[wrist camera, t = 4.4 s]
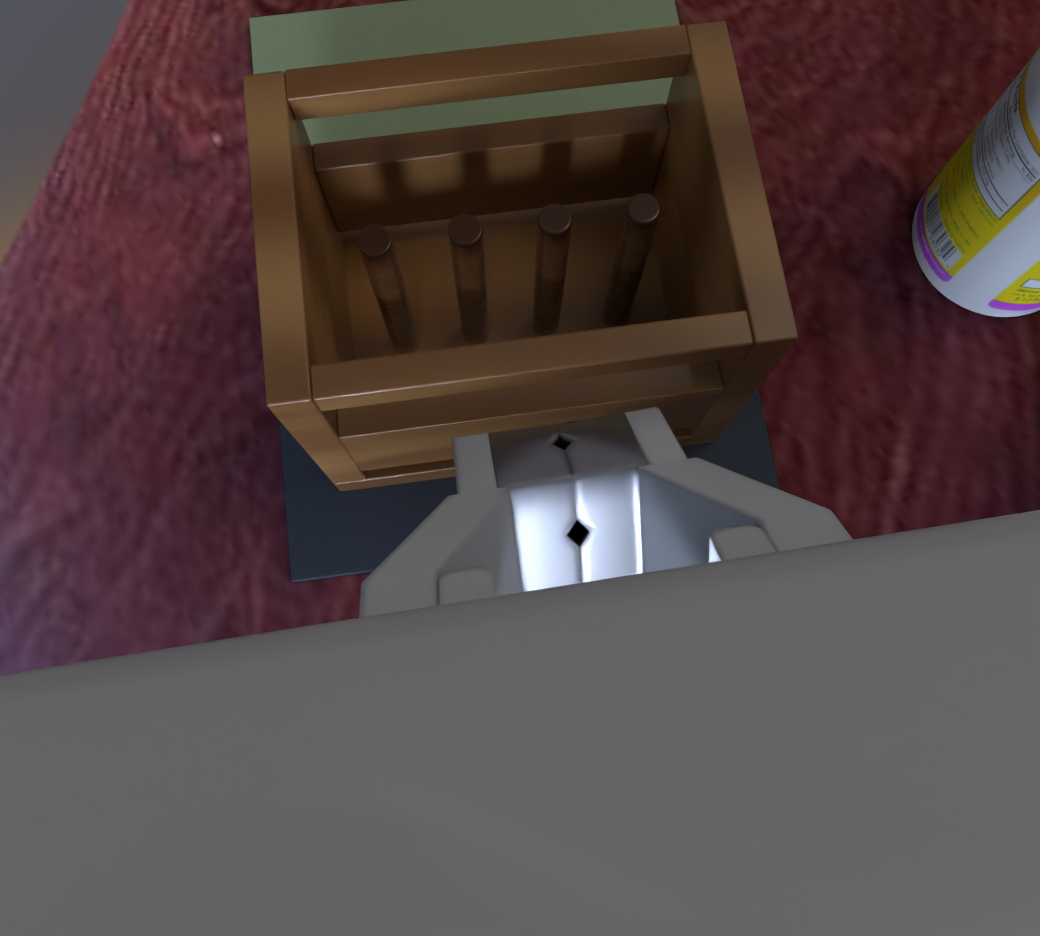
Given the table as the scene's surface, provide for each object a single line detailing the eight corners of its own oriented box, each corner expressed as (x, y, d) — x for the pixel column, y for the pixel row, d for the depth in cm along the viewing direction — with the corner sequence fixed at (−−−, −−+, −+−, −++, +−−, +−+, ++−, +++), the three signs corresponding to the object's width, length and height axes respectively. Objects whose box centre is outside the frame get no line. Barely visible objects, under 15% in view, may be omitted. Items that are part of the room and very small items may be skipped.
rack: (715, 442, 33) (799, 338, 23) (339, 492, 32) (265, 406, 23) (668, 203, 35) (726, 19, 26) (317, 246, 35) (241, 74, 25)
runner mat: (782, 516, 33) (785, 513, 32) (293, 582, 32) (290, 581, 32) (667, -22, 39) (668, -29, 38) (251, 24, 38) (248, 17, 37)
